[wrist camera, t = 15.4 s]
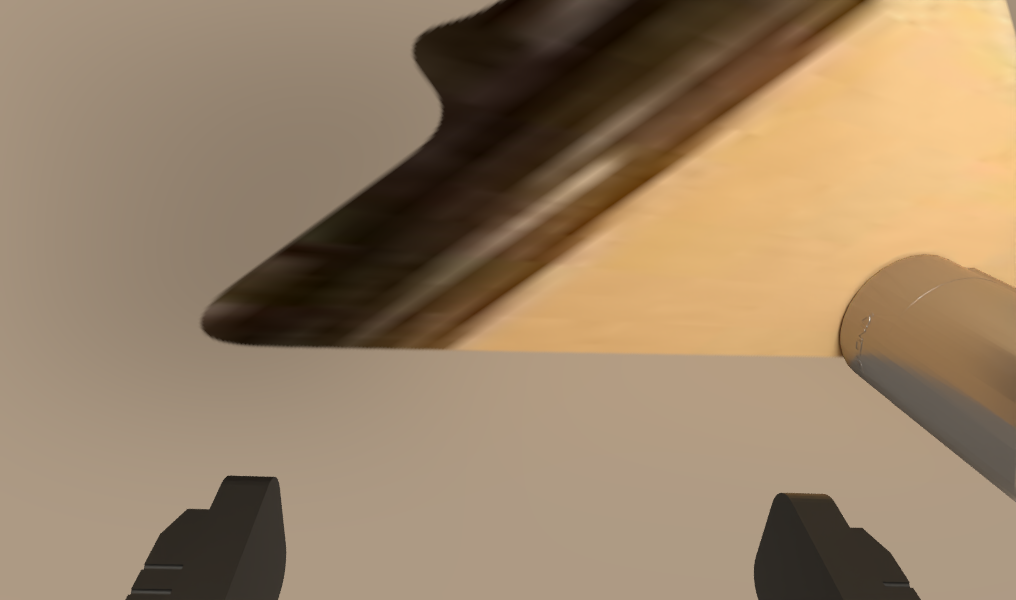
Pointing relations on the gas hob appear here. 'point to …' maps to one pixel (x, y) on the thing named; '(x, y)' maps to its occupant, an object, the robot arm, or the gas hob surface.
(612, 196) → the gas hob surface
